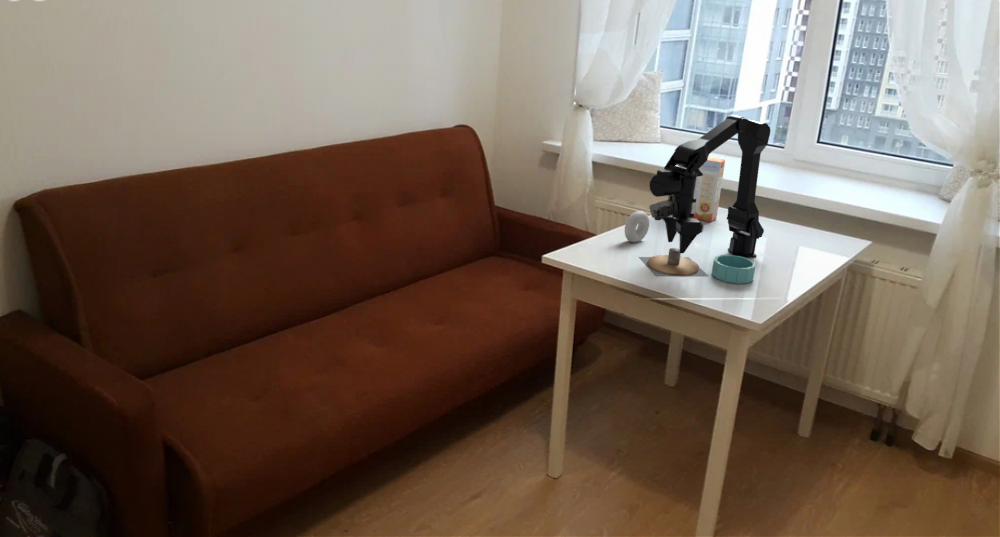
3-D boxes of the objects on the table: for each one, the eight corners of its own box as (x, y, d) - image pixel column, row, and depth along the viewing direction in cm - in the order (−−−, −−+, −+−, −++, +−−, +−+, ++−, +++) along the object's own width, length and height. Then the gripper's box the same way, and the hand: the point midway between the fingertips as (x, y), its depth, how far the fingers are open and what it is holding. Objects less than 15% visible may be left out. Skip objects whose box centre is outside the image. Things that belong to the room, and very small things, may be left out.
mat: (688, 258, 220) (688, 257, 220) (708, 277, 206) (708, 276, 206) (638, 258, 218) (638, 256, 217) (655, 277, 204) (655, 276, 204)
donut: (629, 247, 227) (633, 214, 224) (620, 243, 229) (623, 212, 226) (649, 241, 234) (653, 209, 230) (640, 238, 236) (644, 207, 232)
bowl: (741, 271, 212) (744, 255, 210) (759, 286, 202) (762, 268, 201) (705, 271, 211) (708, 254, 209) (721, 286, 201) (724, 268, 199)
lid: (687, 257, 219) (689, 241, 217) (706, 275, 206) (709, 258, 204) (640, 257, 217) (642, 241, 215) (657, 275, 204) (659, 258, 202)
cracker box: (716, 218, 261) (726, 159, 253) (711, 222, 256) (720, 161, 249) (678, 211, 268) (686, 152, 260) (671, 214, 263) (680, 155, 256)
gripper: (643, 183, 212) (637, 236, 217) (666, 201, 194) (659, 259, 200) (682, 184, 213) (674, 236, 219) (707, 202, 196) (699, 259, 202)
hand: (675, 247), depth 210 cm, fingers open, 9 cm apart
